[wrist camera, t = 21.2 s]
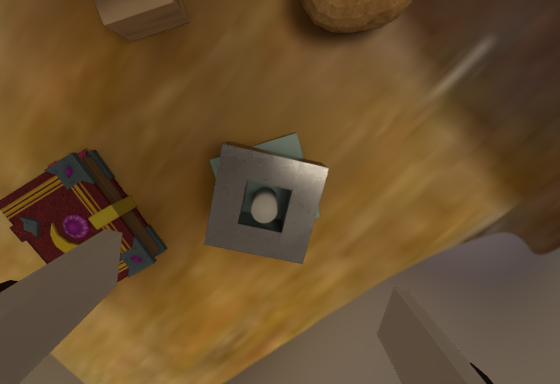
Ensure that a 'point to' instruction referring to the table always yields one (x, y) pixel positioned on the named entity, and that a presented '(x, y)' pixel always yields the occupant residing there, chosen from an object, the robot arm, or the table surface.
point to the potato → (353, 13)
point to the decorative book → (80, 212)
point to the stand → (141, 16)
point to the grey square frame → (241, 225)
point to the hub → (267, 198)
